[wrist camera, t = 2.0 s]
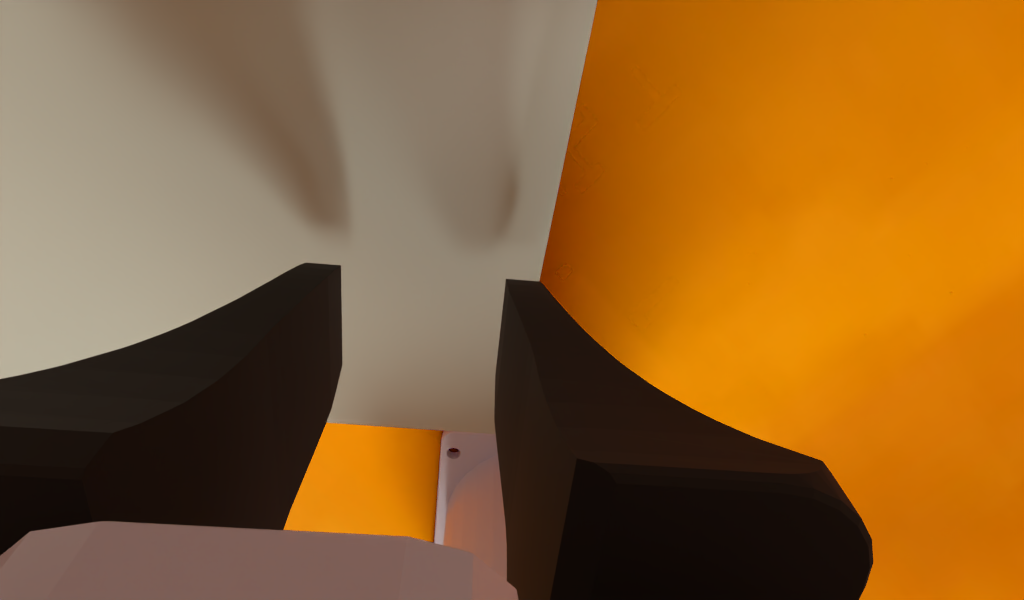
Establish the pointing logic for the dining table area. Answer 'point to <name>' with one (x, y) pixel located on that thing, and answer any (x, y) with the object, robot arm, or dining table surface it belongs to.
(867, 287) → the dining table surface
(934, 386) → the dining table surface
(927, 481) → the dining table surface
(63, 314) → the box lid
